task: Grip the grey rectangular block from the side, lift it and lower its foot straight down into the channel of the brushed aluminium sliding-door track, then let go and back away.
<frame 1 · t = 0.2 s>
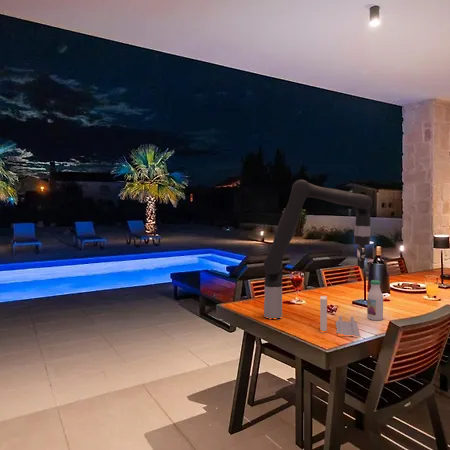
hand: (360, 267, 201), 28 cm above the table, tool pointing down, fingers open, 8 cm apart
door track: (347, 329, 192), on the table
grey rectangular block: (323, 330, 192), on the table
milk bottle: (375, 319, 209), on the table
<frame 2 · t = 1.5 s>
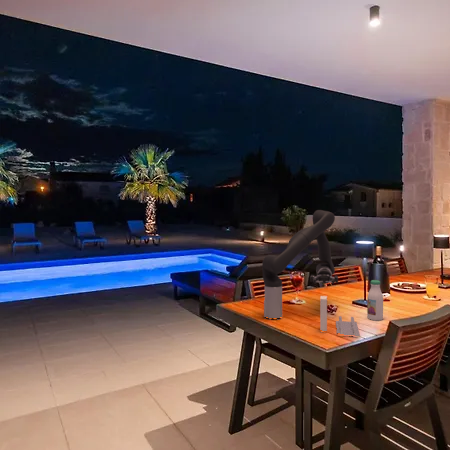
hand: (323, 281, 206), 20 cm above the table, tool horizontal, fingers open, 8 cm apart
nothing on the table moved.
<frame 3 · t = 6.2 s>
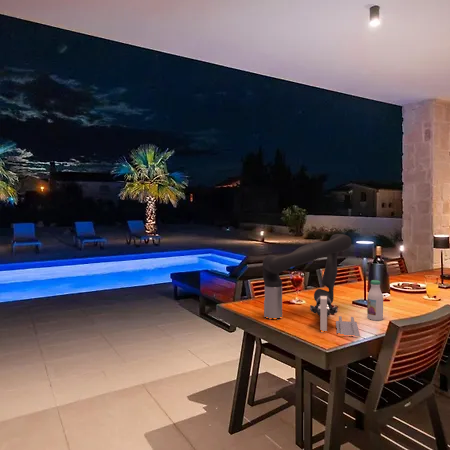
hand: (323, 314, 188), 9 cm above the table, tool horizontal, fingers closed on grey rectangular block, 3 cm apart
grey rectangular block: (323, 330, 192), on the table, touching gripper
everything else where it was.
when the fingers open (10 cm above the table, at t = 12.4 s): grey rectangular block stays where it is, resting on door track.
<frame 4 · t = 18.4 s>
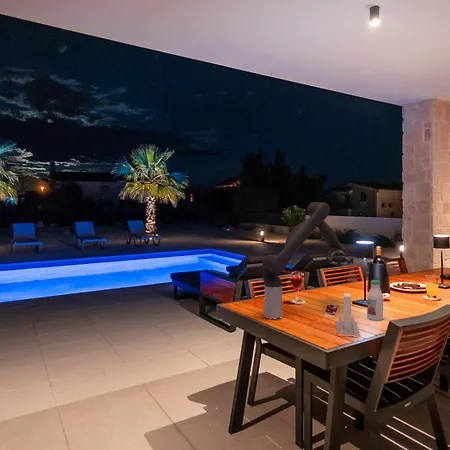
hand: (339, 262, 206), 30 cm above the table, tool horizontal, fingers open, 8 cm apart
grey rectangular block: (347, 327, 192), point 1 cm above the table, touching door track
everything else where it was.
at the end: grey rectangular block inside the target area on the door track (0.1 cm from its centre), point 1.0 cm above the door track's base; grey rectangular block tilted 0°; the gripper is holding nothing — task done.
